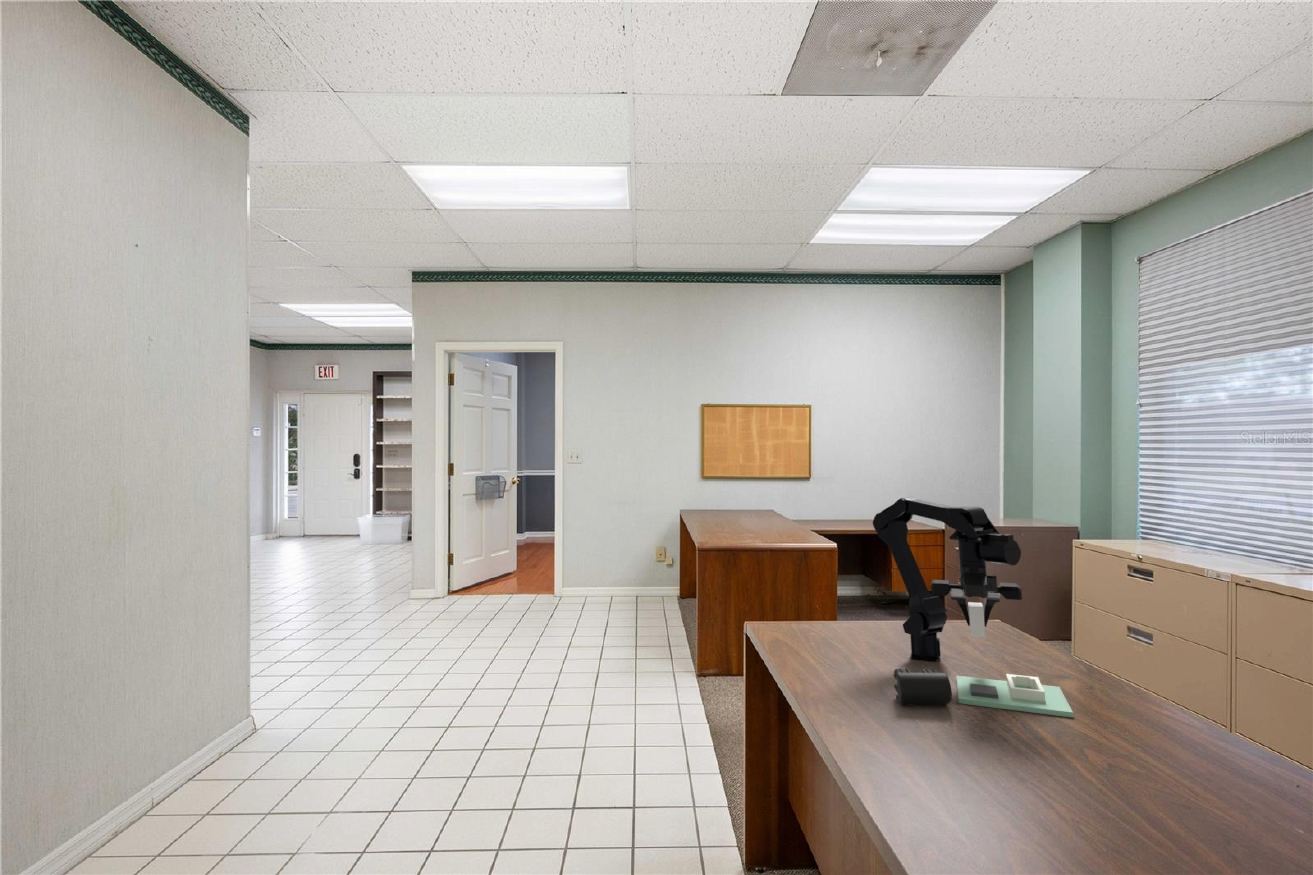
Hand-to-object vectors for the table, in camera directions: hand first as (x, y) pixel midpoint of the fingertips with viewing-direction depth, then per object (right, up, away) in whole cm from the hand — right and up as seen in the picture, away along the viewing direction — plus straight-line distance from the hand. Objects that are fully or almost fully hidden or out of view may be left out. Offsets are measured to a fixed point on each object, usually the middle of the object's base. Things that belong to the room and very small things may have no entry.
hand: (976, 626), depth 138 cm
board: (0, -11, -13) cm, 17 cm away
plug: (0, -2, 0) cm, 2 cm away
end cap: (-20, -12, -15) cm, 28 cm away
